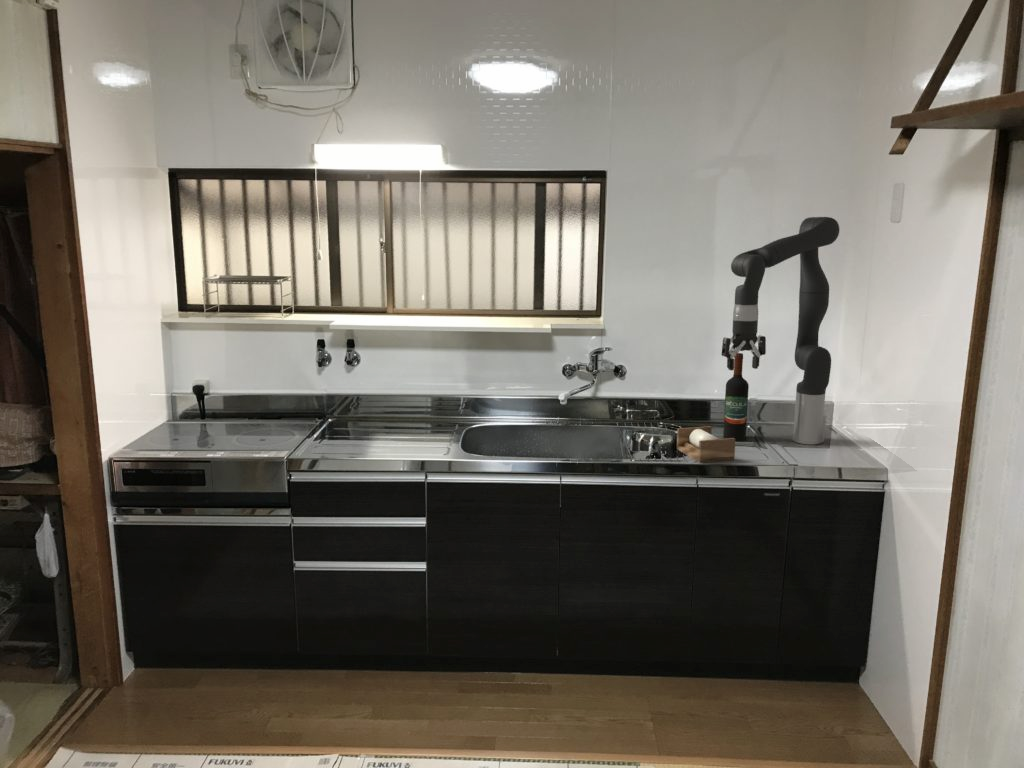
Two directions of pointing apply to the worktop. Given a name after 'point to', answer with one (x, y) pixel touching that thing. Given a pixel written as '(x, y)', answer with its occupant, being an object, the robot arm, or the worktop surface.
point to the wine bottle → (736, 403)
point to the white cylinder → (700, 437)
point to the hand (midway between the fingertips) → (742, 369)
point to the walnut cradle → (705, 446)
